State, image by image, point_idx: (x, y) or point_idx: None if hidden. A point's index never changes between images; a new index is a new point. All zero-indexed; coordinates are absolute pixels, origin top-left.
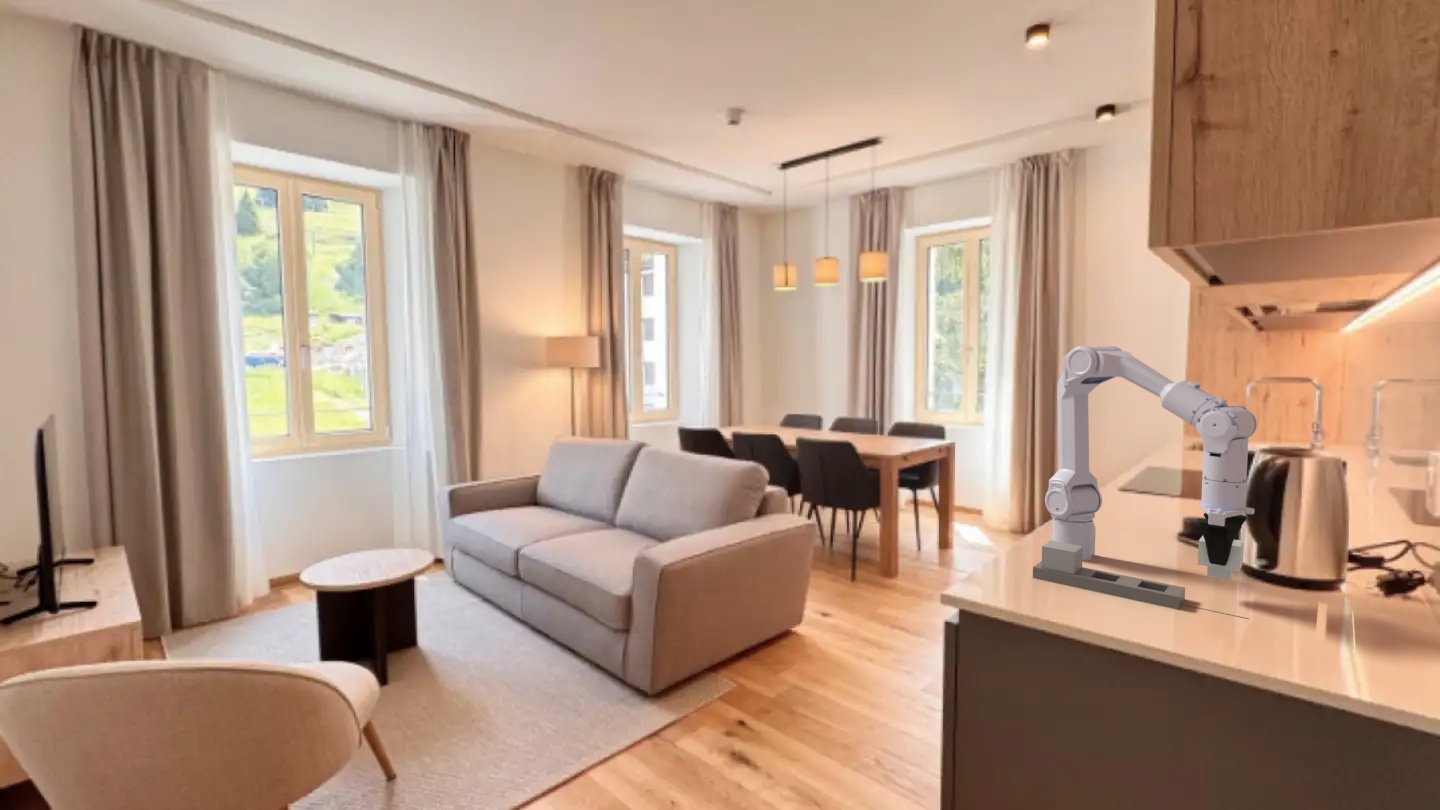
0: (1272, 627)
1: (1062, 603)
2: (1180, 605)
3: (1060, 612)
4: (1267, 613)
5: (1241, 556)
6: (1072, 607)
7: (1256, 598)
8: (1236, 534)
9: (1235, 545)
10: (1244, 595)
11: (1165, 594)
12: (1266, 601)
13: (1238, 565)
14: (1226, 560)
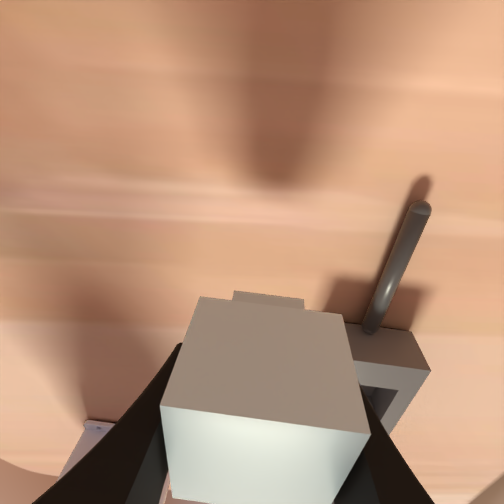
0: (393, 146)
1: (417, 452)
2: (384, 339)
3: (470, 454)
4: (253, 151)
5: (267, 348)
6: (433, 444)
7: (115, 171)
8: (141, 463)
9: (335, 445)
10: (112, 199)
11: (418, 389)
12: (123, 146)
13: (347, 339)
14: (360, 388)
